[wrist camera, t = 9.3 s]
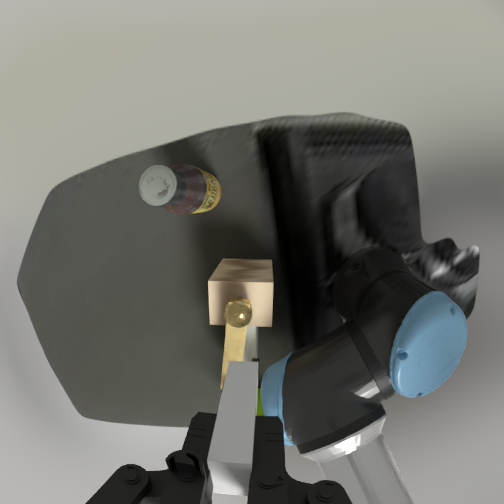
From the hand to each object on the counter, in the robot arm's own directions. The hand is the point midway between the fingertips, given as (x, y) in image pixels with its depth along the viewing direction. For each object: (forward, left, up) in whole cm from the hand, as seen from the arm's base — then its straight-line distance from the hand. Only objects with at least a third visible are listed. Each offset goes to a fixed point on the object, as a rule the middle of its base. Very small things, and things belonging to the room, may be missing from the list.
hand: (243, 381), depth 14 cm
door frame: (+2, +11, -32) cm, 34 cm away
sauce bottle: (+9, -10, -33) cm, 35 cm away
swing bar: (+3, +9, -19) cm, 21 cm away
